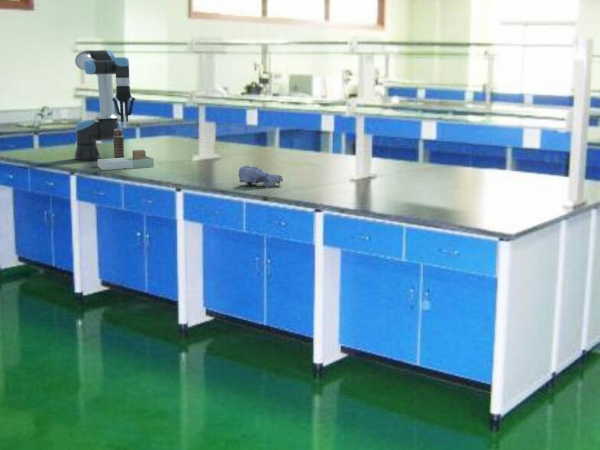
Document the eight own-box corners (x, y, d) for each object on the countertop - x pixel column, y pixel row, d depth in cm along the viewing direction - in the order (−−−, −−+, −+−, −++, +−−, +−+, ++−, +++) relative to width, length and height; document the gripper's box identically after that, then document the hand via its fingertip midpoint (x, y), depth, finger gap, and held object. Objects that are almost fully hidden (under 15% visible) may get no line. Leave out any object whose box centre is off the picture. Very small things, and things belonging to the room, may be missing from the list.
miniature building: (111, 164, 490) (109, 130, 486) (108, 162, 500) (106, 128, 496) (129, 163, 494) (128, 129, 490) (126, 161, 504) (124, 127, 499)
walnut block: (132, 160, 484) (132, 150, 483) (143, 159, 487) (142, 149, 485) (135, 161, 479) (135, 151, 478) (145, 161, 481) (145, 150, 480)
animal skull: (278, 192, 410) (279, 172, 406) (235, 187, 414) (235, 168, 411) (285, 185, 422) (285, 165, 419) (242, 180, 426) (243, 161, 423)
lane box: (98, 167, 480) (97, 158, 479) (148, 164, 492) (147, 155, 491) (102, 170, 469) (102, 161, 468) (153, 166, 481) (153, 157, 480)
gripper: (112, 85, 465) (114, 128, 470) (136, 85, 470) (137, 127, 475) (109, 85, 472) (111, 127, 477) (132, 84, 477) (134, 126, 482)
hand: (124, 127), depth 476 cm, fingers closed
